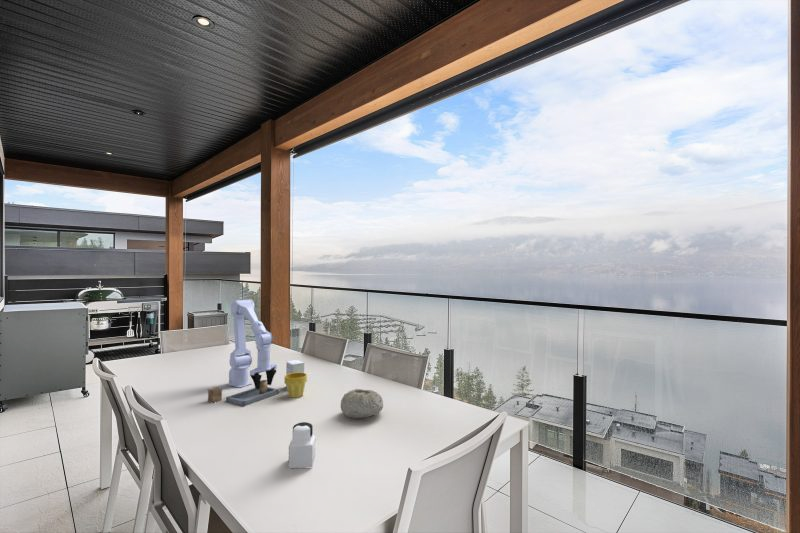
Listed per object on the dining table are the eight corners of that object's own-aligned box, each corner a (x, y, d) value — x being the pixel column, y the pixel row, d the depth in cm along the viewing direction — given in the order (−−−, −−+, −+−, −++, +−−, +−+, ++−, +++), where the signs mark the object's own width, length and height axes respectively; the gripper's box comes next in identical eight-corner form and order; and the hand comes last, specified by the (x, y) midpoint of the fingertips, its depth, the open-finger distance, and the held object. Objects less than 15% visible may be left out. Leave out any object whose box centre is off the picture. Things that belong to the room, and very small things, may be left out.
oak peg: (257, 393, 185) (257, 381, 185) (263, 390, 188) (263, 379, 188) (263, 394, 183) (263, 382, 183) (268, 392, 186) (268, 380, 186)
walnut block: (208, 401, 174) (208, 389, 174) (215, 399, 178) (216, 387, 178) (213, 403, 172) (213, 390, 172) (221, 400, 176) (221, 388, 176)
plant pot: (280, 395, 183) (280, 375, 183) (298, 390, 191) (299, 370, 191) (291, 400, 176) (292, 379, 176) (311, 395, 184) (311, 375, 184)
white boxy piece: (292, 457, 124) (293, 420, 124) (315, 457, 125) (315, 419, 125) (288, 469, 117) (288, 429, 117) (312, 468, 117) (312, 429, 117)
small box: (304, 388, 195) (304, 362, 195) (292, 390, 191) (292, 364, 191) (297, 384, 201) (297, 359, 201) (285, 386, 197) (286, 361, 197)
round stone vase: (365, 404, 173) (365, 382, 173) (392, 415, 160) (392, 391, 160) (332, 414, 160) (332, 390, 161) (358, 427, 148) (358, 401, 148)
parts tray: (226, 401, 174) (226, 397, 174) (261, 389, 192) (261, 385, 192) (244, 406, 169) (244, 401, 169) (278, 393, 186) (278, 389, 186)
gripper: (257, 362, 177) (257, 392, 177) (281, 356, 190) (280, 384, 190) (246, 360, 181) (246, 389, 181) (270, 354, 193) (270, 381, 193)
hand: (263, 386), depth 186 cm, fingers open, 7 cm apart
